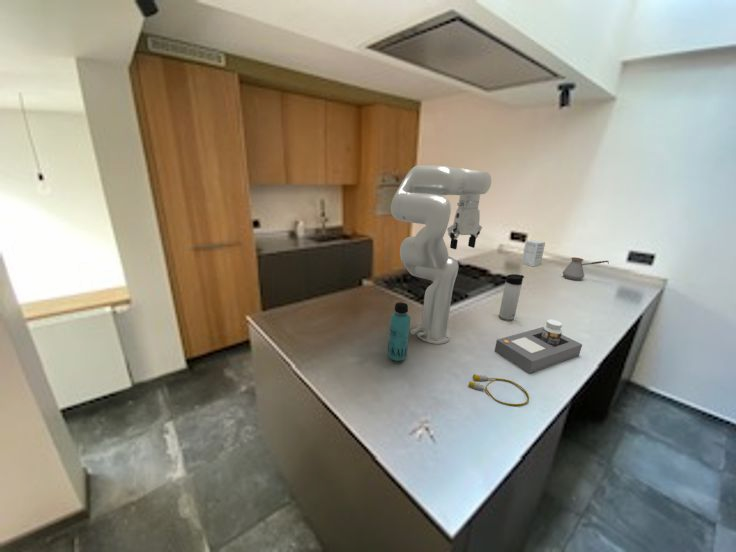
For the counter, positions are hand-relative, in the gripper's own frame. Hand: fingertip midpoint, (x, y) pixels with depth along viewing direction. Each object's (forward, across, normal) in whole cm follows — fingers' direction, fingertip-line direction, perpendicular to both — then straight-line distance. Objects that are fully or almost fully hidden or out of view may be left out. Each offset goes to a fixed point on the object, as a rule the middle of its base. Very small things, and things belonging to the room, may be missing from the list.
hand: (462, 247), depth 125 cm
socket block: (+30, +7, -36) cm, 48 cm away
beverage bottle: (+31, -41, -20) cm, 55 cm away
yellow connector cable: (+31, -21, -44) cm, 58 cm away
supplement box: (+31, +110, +44) cm, 122 cm away
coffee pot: (+31, +109, +8) cm, 113 cm away
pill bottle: (+30, +13, -36) cm, 48 cm away
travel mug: (+31, +20, -12) cm, 38 cm away
